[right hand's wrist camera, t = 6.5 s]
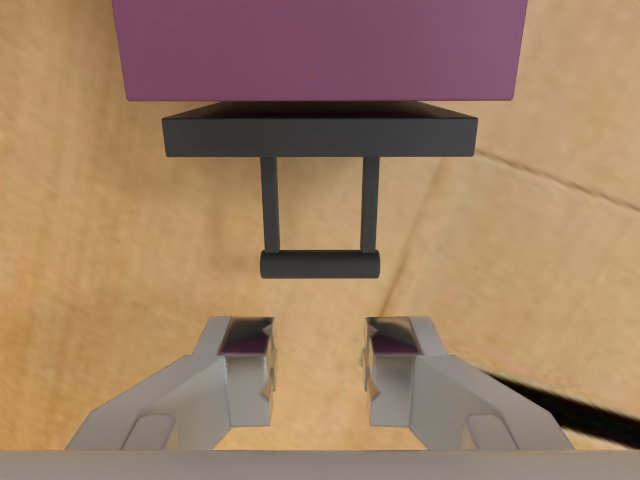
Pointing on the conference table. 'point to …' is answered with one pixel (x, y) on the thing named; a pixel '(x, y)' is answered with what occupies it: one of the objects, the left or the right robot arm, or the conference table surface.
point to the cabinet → (319, 49)
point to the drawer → (320, 141)
